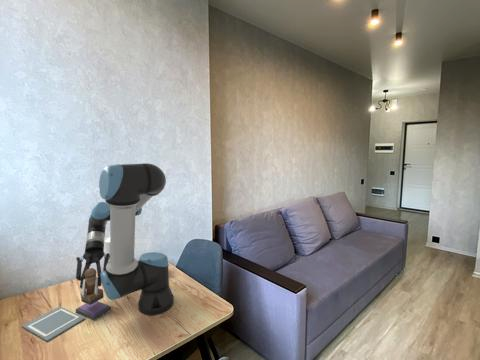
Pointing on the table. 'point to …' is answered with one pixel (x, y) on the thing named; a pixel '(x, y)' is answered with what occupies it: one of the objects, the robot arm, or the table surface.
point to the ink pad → (93, 310)
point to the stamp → (91, 288)
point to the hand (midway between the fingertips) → (89, 295)
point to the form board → (53, 323)
